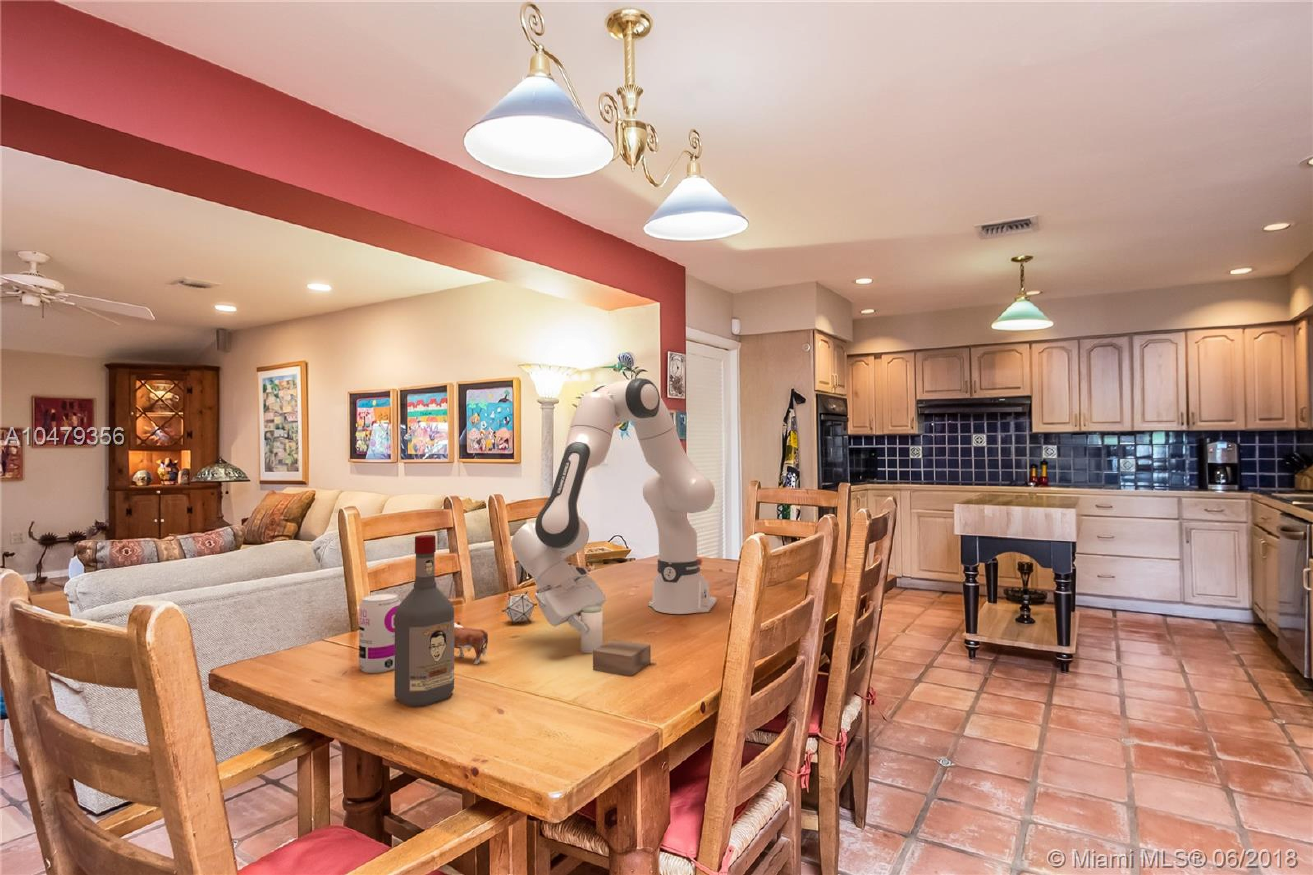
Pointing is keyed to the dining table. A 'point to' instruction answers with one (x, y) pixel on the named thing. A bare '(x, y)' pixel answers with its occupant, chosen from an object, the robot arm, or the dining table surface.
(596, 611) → the jar
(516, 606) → the game die
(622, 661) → the plinth
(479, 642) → the bull figurine
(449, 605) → the liquor
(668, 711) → the dining table surface
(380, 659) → the supplement can
